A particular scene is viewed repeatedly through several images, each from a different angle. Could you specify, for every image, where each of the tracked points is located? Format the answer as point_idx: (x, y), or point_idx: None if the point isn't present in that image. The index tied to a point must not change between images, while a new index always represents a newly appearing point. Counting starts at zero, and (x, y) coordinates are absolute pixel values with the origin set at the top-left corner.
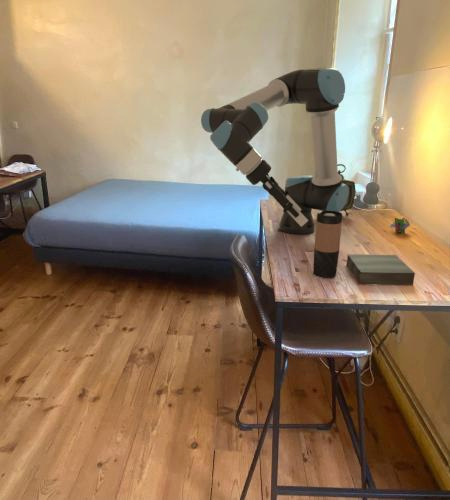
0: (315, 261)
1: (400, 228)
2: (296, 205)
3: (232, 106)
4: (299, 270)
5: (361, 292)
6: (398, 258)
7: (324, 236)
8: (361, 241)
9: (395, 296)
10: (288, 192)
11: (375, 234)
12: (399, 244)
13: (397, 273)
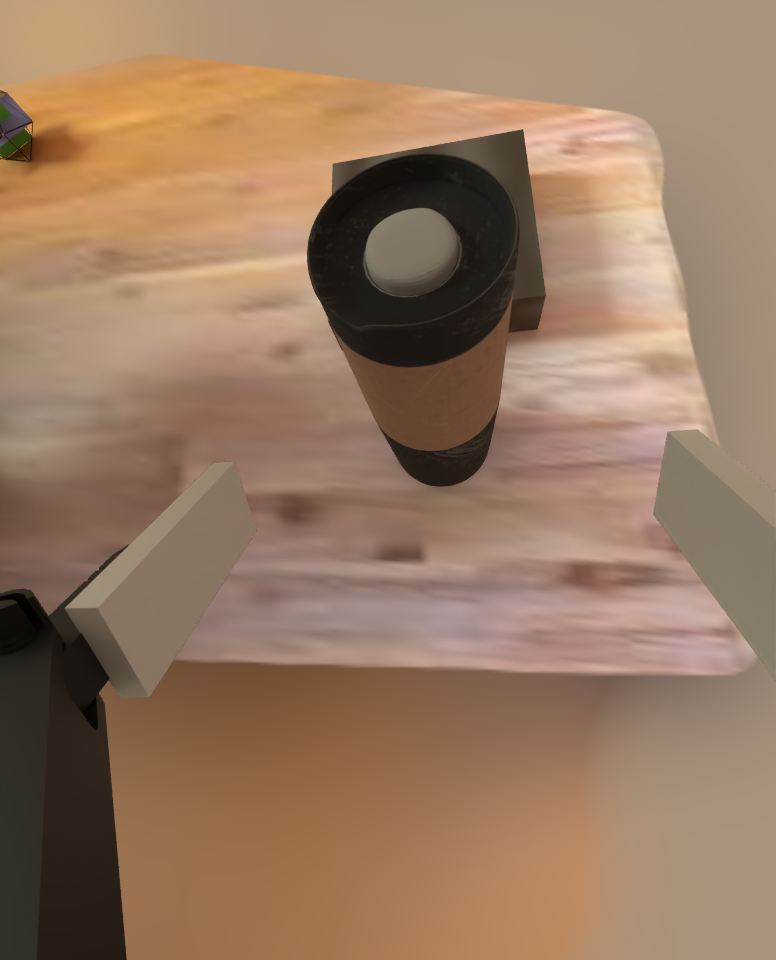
0: (461, 465)
1: (17, 130)
2: (206, 504)
3: None
4: (406, 542)
5: (615, 332)
6: (371, 160)
7: (500, 366)
8: (88, 271)
9: (629, 234)
10: (8, 594)
11: (24, 220)
12: (136, 164)
13: (529, 181)
